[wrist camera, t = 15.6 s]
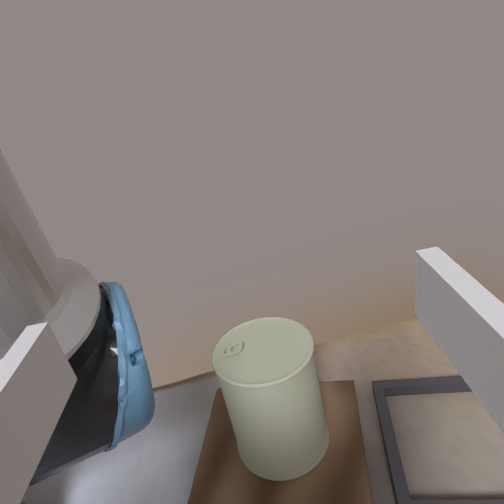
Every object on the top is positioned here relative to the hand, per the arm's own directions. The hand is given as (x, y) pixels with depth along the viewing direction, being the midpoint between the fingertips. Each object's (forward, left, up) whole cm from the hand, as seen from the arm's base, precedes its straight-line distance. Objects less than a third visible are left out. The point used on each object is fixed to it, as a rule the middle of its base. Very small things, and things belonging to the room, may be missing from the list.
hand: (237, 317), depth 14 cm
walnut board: (-4, +16, -27) cm, 31 cm away
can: (-3, +16, -26) cm, 30 cm away
